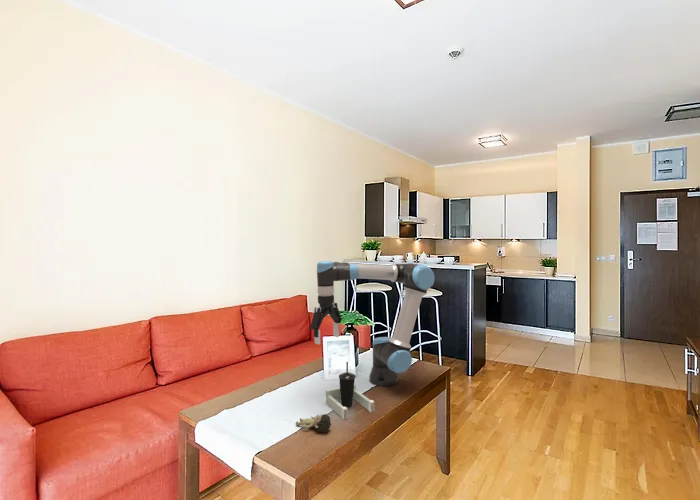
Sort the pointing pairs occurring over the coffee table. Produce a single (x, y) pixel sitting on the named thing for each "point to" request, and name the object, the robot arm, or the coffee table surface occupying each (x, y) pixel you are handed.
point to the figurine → (316, 422)
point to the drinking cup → (347, 387)
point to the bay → (333, 401)
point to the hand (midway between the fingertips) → (327, 340)
